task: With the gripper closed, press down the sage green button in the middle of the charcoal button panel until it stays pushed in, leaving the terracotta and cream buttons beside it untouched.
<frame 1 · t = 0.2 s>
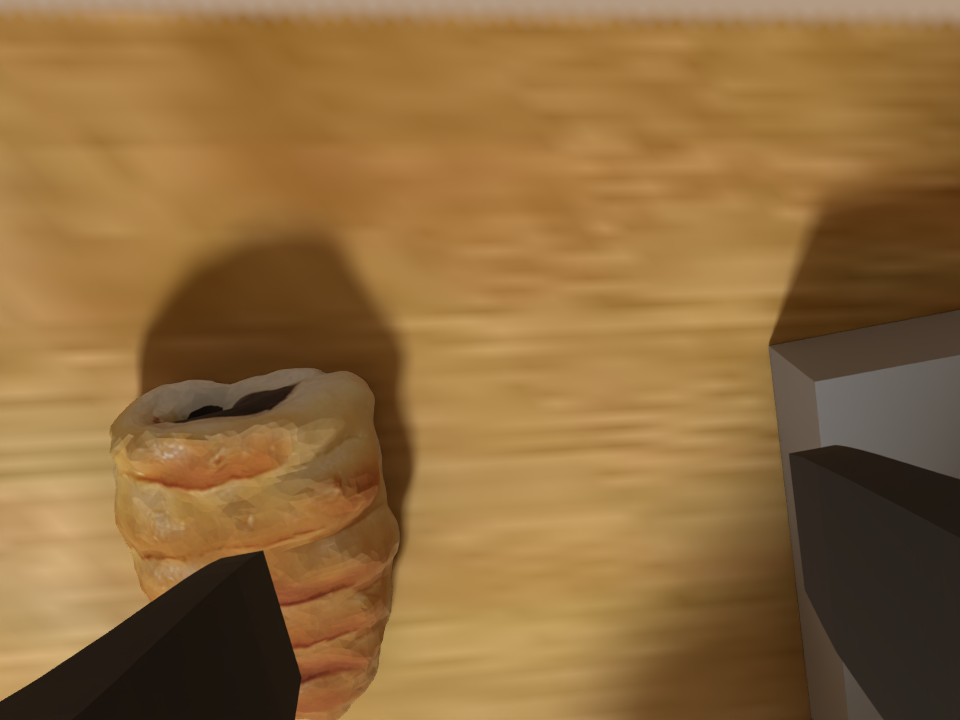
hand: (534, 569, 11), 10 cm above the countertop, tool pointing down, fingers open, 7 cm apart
pastry: (286, 503, 22), on the countertop
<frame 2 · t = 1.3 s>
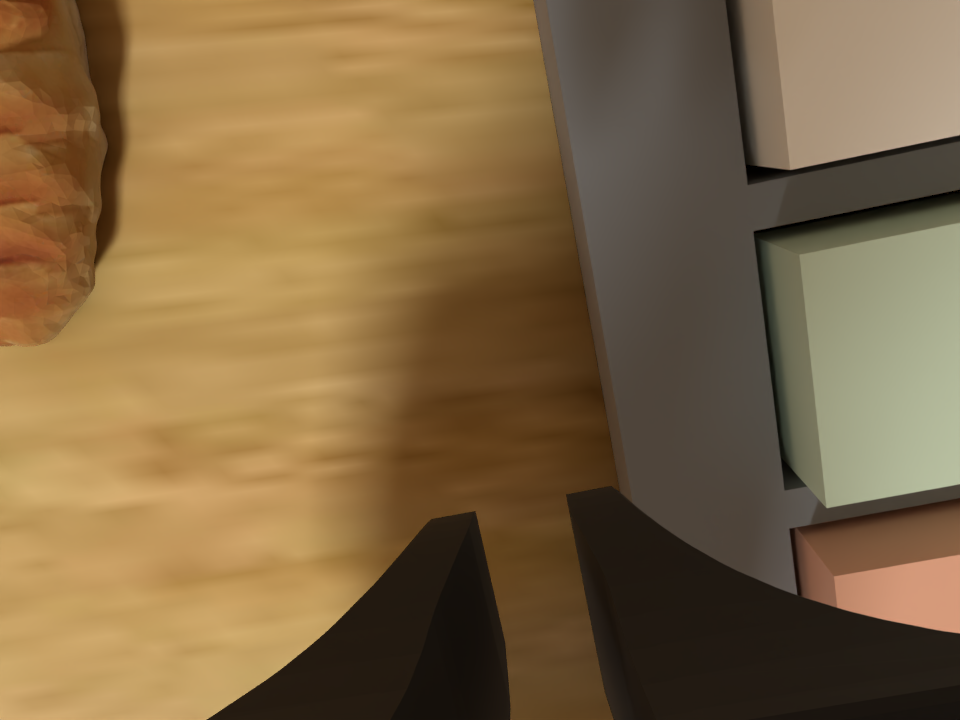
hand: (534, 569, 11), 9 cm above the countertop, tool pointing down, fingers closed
panel: (847, 309, 20), on the countertop
sage button: (910, 341, 17), point 3 cm above the countertop, slide at 0.0 cm
terracotta button: (931, 621, 18), point 3 cm above the countertop, slide at 0.0 cm
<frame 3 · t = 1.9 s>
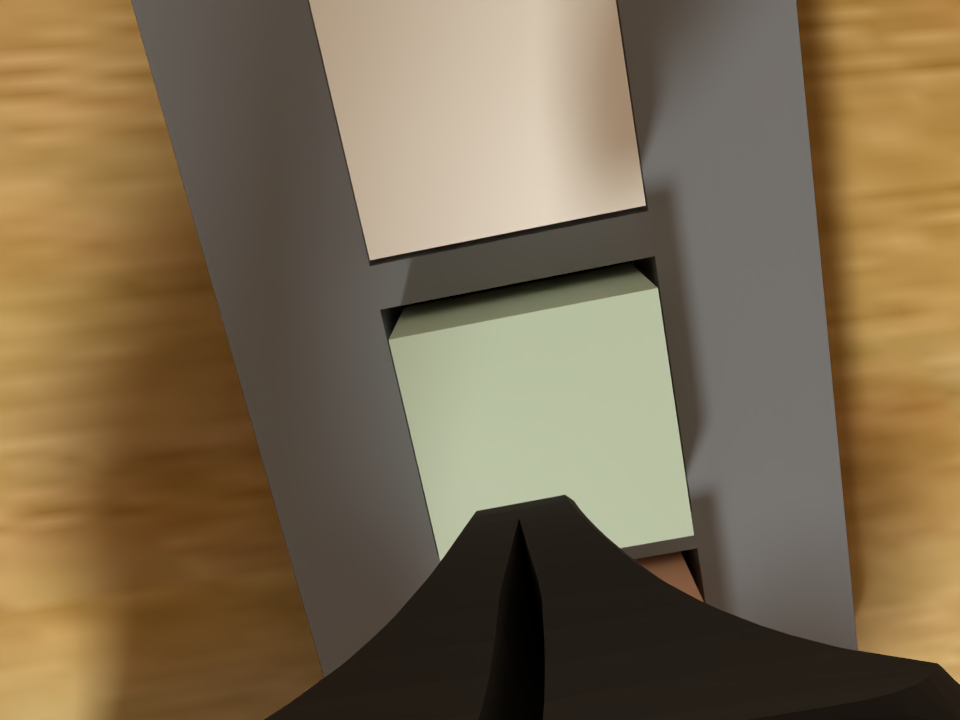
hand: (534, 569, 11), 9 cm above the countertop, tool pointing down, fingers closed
panel: (533, 373, 20), on the countertop
sage button: (541, 414, 17), point 3 cm above the countertop, slide at 0.0 cm
cream button: (479, 92, 16), point 3 cm above the countertop, slide at 0.0 cm
terracotta button: (591, 681, 19), point 3 cm above the countertop, slide at 0.0 cm
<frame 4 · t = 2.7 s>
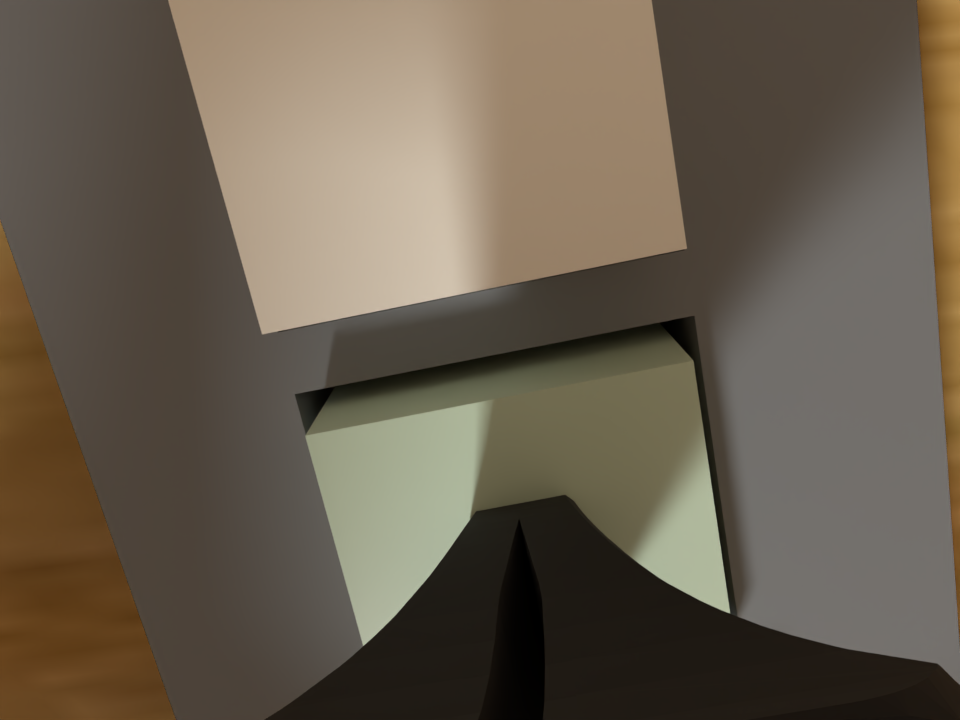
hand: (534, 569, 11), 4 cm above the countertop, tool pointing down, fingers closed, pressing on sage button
panel: (521, 460, 15), on the countertop
sage button: (528, 523, 13), point 3 cm above the countertop, slide at 0.6 cm, touching gripper
cream button: (432, 76, 10), point 3 cm above the countertop, slide at 0.0 cm
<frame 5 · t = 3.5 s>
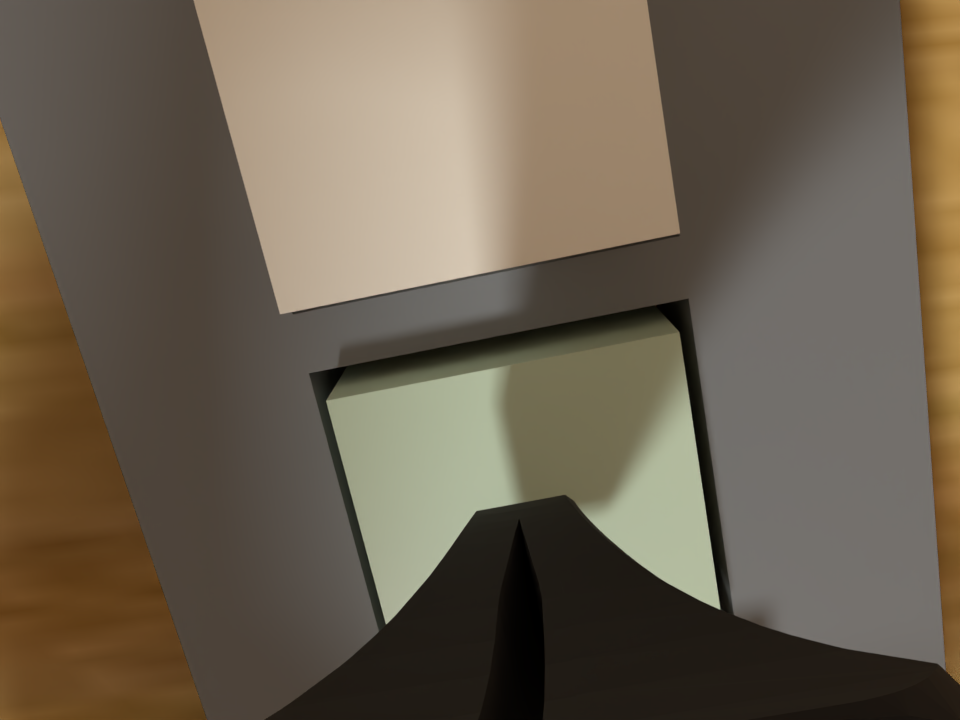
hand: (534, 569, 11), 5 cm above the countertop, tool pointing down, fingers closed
panel: (524, 440, 16), on the countertop
sage button: (529, 485, 14), point 2 cm above the countertop, slide at 1.0 cm
cream button: (440, 71, 11), point 3 cm above the countertop, slide at 0.0 cm
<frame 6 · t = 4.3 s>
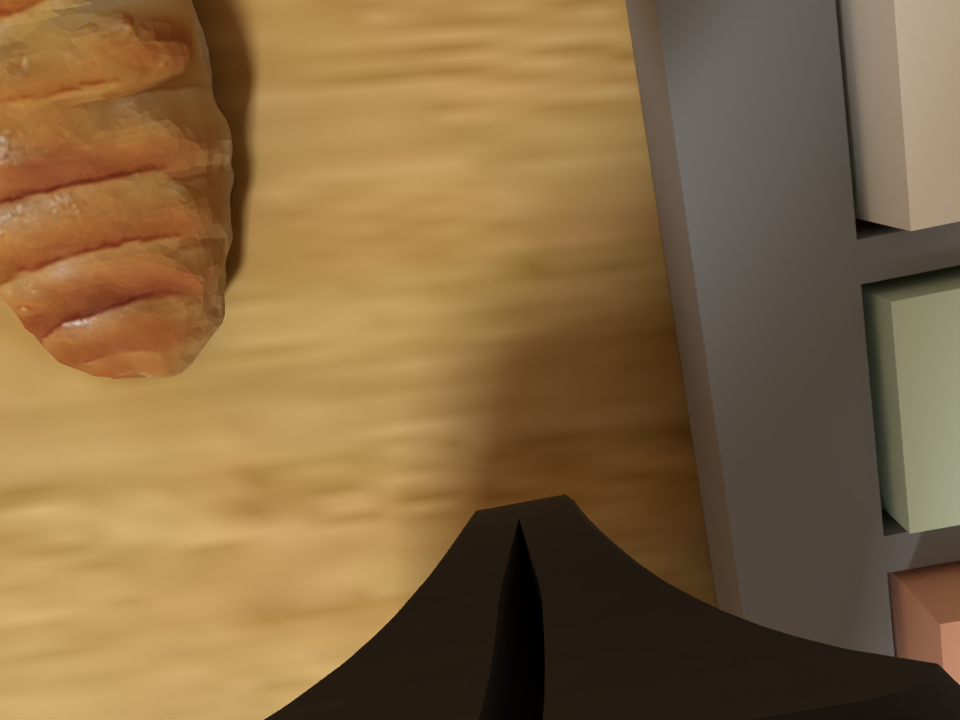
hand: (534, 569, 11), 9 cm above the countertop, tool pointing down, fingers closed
panel: (935, 352, 20), on the countertop
pastry: (115, 139, 19), on the countertop
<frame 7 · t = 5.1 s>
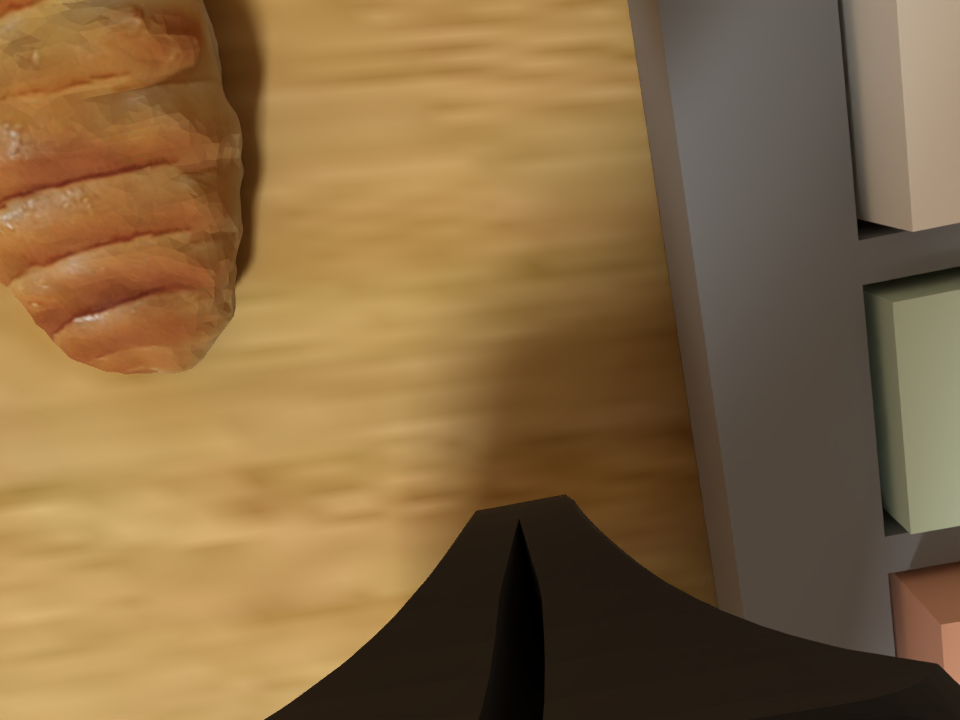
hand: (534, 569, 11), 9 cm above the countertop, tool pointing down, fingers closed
panel: (936, 353, 20), on the countertop
pastry: (124, 134, 19), on the countertop
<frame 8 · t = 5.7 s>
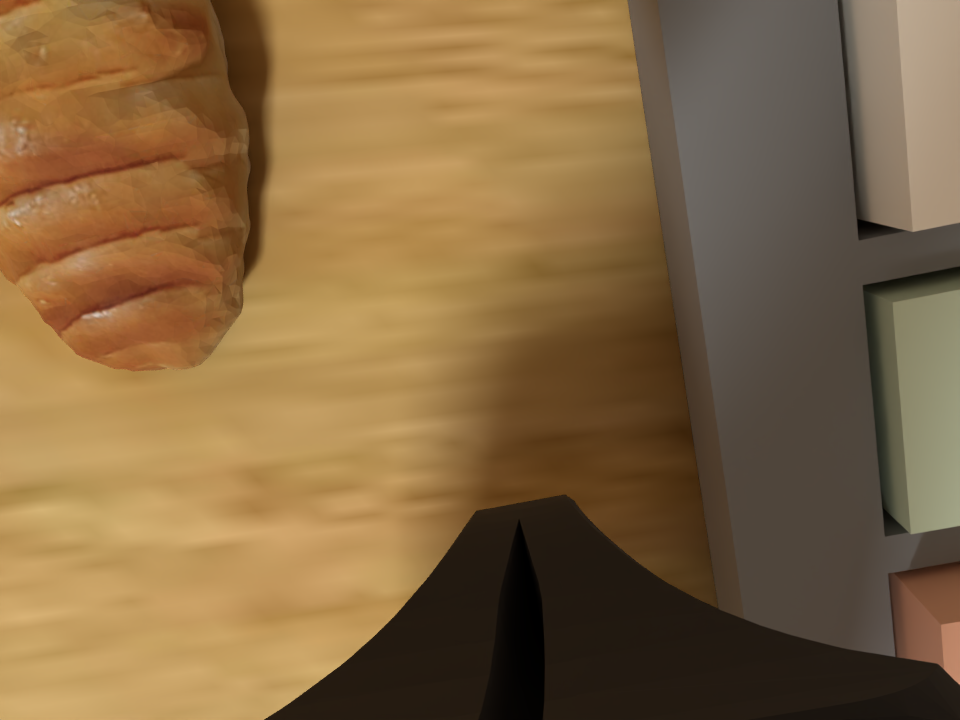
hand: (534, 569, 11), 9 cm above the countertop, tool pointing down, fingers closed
panel: (936, 353, 20), on the countertop
pastry: (130, 131, 19), on the countertop
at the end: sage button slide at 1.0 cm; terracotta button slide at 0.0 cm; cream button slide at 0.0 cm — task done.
